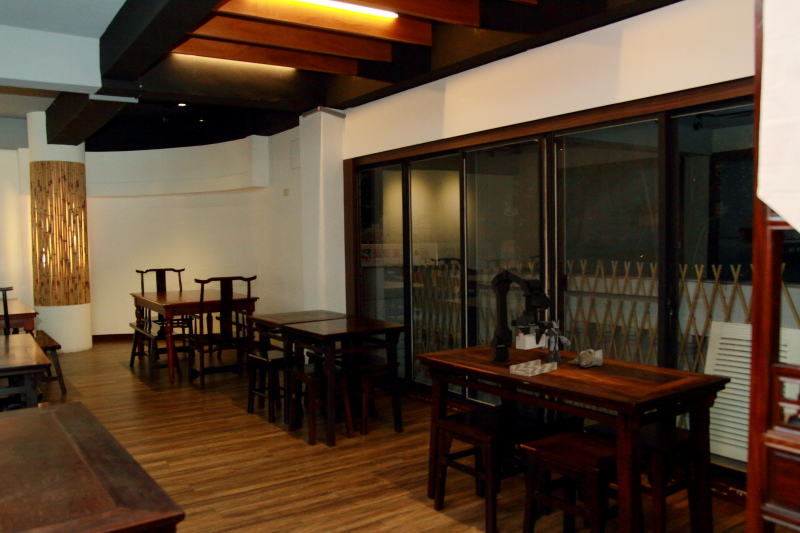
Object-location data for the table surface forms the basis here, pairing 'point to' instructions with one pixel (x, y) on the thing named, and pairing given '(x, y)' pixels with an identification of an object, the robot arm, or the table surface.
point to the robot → (554, 343)
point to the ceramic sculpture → (589, 358)
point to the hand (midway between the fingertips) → (532, 343)
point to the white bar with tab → (529, 341)
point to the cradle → (532, 368)
